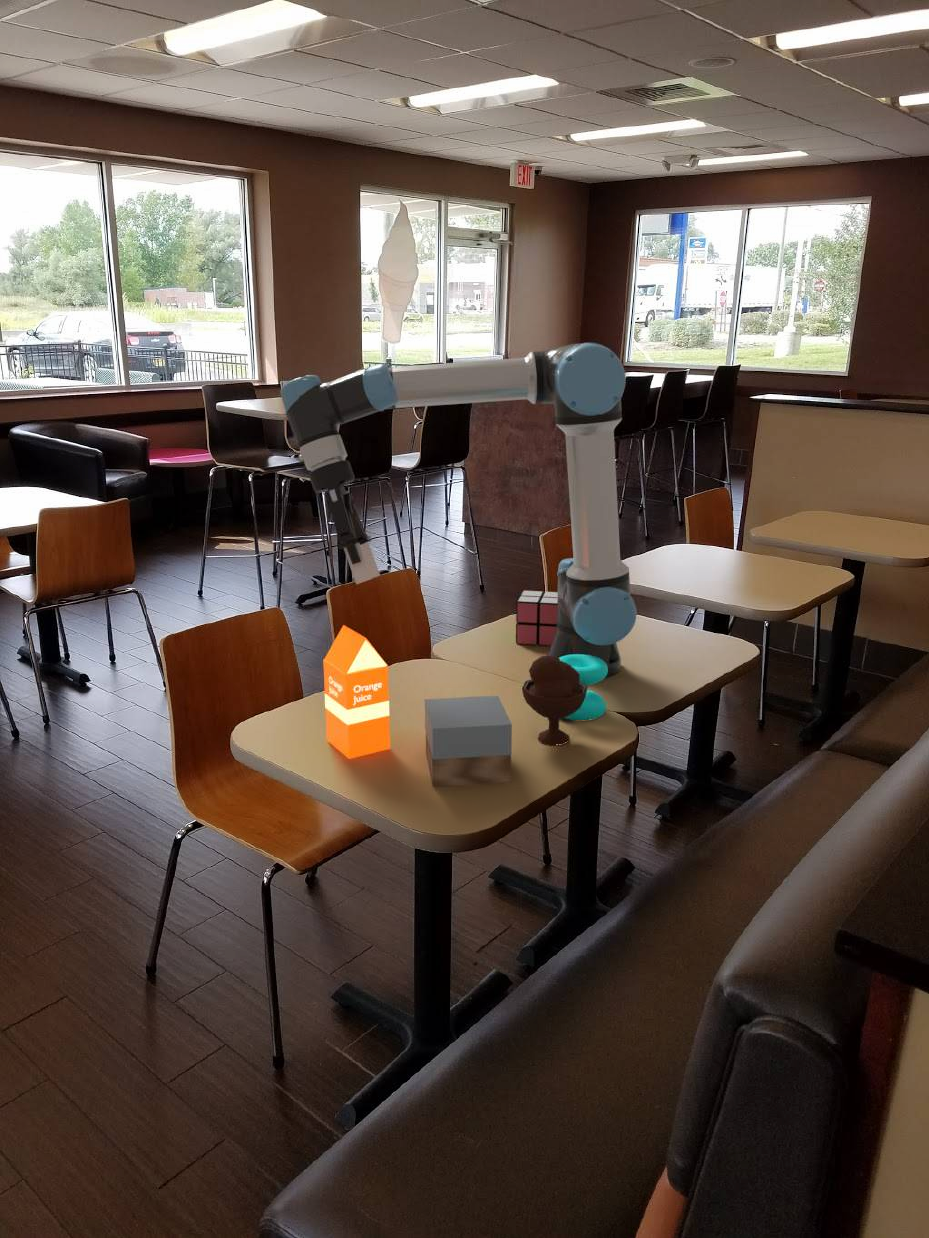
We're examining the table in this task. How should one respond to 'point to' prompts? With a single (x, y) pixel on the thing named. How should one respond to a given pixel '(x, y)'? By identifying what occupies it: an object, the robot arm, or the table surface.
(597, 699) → the donuts
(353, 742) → the orange juice
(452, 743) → the upper block
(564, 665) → the ice cream bowl
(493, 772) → the lower block
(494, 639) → the table surface
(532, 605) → the puzzle cube
